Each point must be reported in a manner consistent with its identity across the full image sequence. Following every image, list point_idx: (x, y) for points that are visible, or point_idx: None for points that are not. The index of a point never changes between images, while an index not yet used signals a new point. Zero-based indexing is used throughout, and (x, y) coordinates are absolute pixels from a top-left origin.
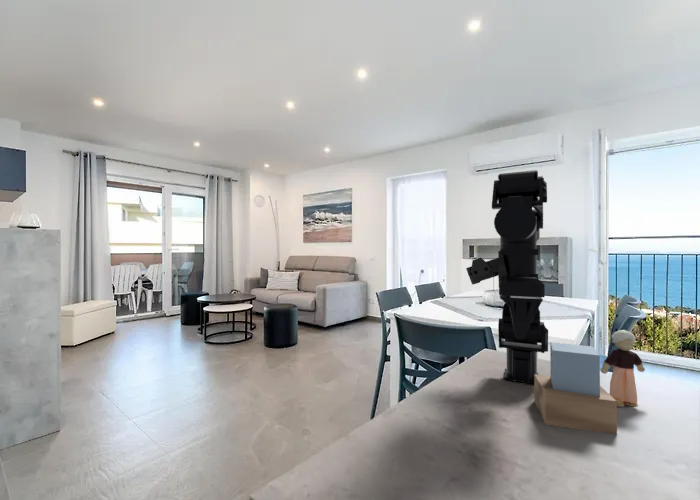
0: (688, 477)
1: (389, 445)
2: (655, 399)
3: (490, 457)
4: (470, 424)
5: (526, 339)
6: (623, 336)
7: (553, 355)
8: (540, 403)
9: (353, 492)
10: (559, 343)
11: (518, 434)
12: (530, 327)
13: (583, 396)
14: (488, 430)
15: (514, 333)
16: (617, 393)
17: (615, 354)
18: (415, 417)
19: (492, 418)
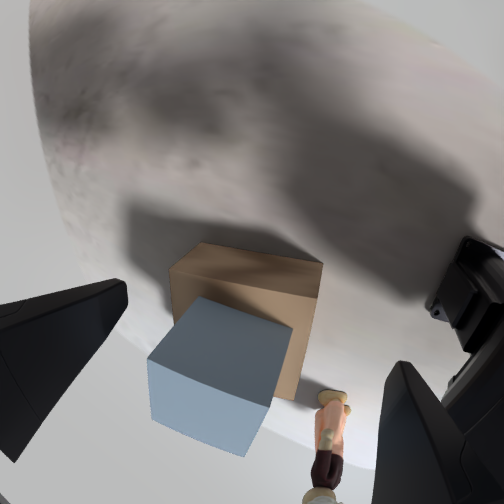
0: (130, 339)
1: (82, 12)
2: (355, 441)
3: (81, 132)
4: (156, 96)
5: (465, 370)
6: None
7: (154, 349)
8: (242, 259)
9: (30, 31)
10: (256, 420)
11: (146, 180)
12: (463, 419)
13: None
14: (143, 129)
15: (493, 348)
16: (326, 412)
17: (314, 473)
18: (160, 3)
19: (193, 139)
